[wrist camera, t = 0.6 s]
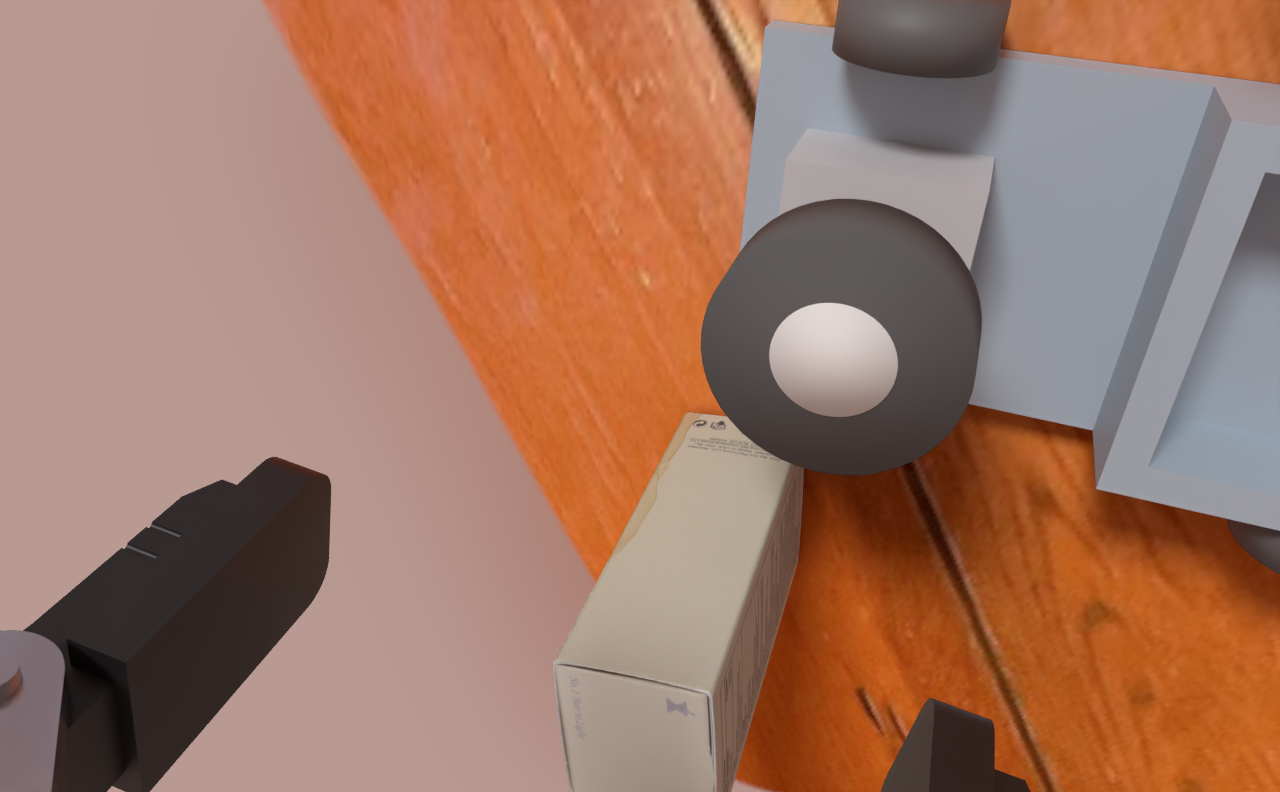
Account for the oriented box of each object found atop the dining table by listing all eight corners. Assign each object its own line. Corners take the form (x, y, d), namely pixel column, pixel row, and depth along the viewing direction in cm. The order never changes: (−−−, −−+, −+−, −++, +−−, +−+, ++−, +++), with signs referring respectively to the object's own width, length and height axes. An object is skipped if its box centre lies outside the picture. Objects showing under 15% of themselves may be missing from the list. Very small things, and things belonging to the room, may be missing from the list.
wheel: (1011, 223, 22) (1007, 261, 20) (950, 453, 25) (943, 503, 23) (737, 177, 23) (712, 209, 21) (713, 399, 26) (690, 442, 25)
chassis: (1684, 62, 22) (1793, 112, 19) (1409, 526, 29) (1454, 620, 26) (780, -39, 27) (742, -14, 24) (732, 377, 34) (698, 440, 31)
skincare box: (685, 406, 35) (543, 650, 25) (813, 425, 34) (714, 689, 24) (688, 548, 38) (563, 813, 29) (805, 570, 37) (715, 855, 27)
